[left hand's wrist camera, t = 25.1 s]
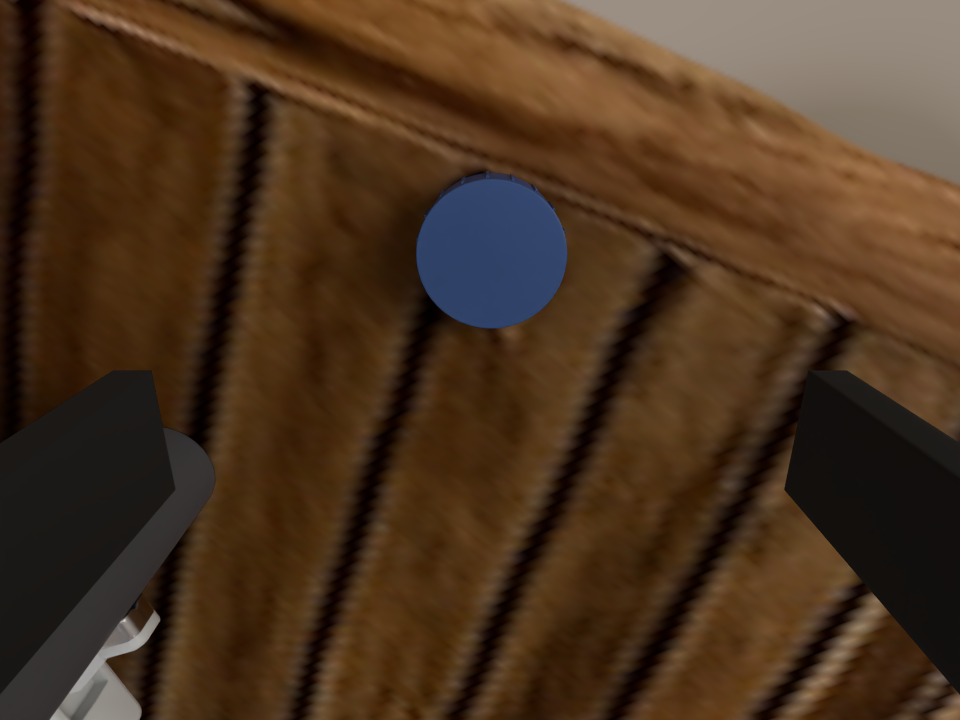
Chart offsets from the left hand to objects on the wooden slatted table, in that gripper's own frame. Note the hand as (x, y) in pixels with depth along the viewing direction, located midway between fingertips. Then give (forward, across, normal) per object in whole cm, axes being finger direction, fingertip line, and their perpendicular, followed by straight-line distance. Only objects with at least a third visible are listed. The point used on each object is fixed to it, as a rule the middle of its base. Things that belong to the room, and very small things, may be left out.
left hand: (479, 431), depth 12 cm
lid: (+12, 0, -1) cm, 12 cm away
